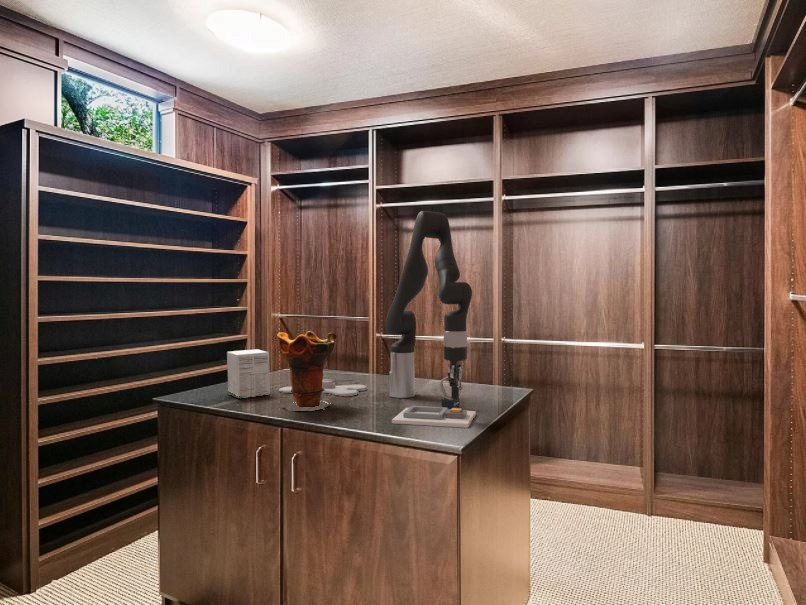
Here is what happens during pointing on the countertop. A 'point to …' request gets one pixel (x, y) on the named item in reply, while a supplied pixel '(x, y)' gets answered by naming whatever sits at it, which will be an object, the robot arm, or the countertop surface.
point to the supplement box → (248, 372)
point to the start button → (456, 410)
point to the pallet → (434, 417)
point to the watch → (448, 401)
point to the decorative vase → (306, 365)
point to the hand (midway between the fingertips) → (455, 398)
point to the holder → (335, 388)
